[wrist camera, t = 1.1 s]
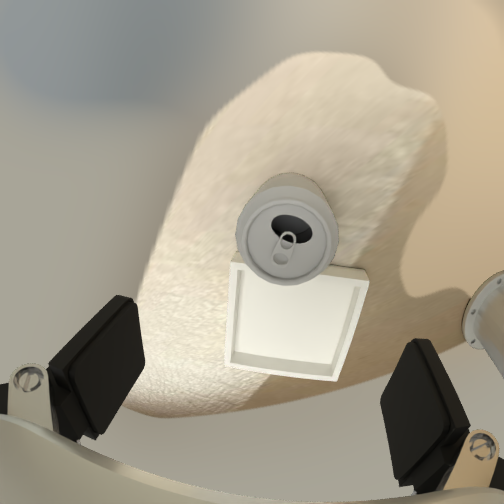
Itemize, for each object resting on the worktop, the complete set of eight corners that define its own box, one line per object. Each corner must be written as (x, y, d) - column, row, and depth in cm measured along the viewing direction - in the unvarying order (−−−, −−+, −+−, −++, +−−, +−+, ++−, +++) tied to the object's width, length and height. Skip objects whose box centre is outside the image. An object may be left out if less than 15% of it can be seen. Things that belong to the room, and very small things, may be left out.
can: (336, 188, 29) (360, 215, 18) (309, 251, 32) (314, 309, 21) (268, 161, 29) (251, 172, 18) (245, 227, 32) (217, 273, 21)
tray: (364, 269, 32) (369, 281, 29) (335, 366, 37) (336, 381, 34) (236, 251, 33) (230, 261, 31) (228, 351, 39) (223, 366, 36)
